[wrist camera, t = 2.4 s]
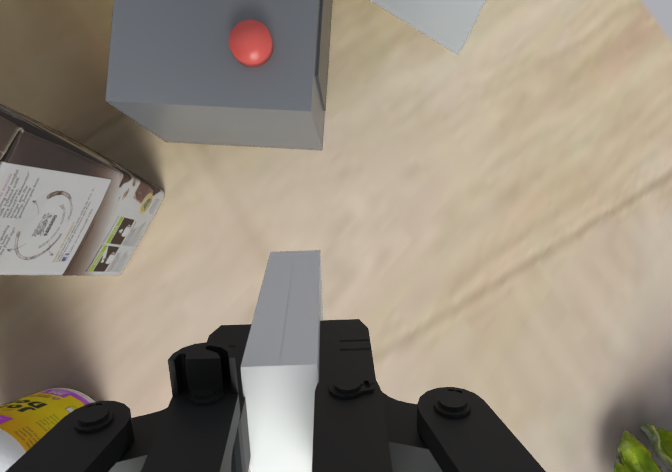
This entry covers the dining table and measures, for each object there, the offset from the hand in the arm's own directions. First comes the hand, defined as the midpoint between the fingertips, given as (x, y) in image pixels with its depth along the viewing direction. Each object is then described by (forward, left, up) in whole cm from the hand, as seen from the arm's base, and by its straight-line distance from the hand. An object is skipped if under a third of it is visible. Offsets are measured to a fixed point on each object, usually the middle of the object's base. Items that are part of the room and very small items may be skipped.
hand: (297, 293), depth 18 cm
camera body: (-6, +13, -19) cm, 24 cm away
